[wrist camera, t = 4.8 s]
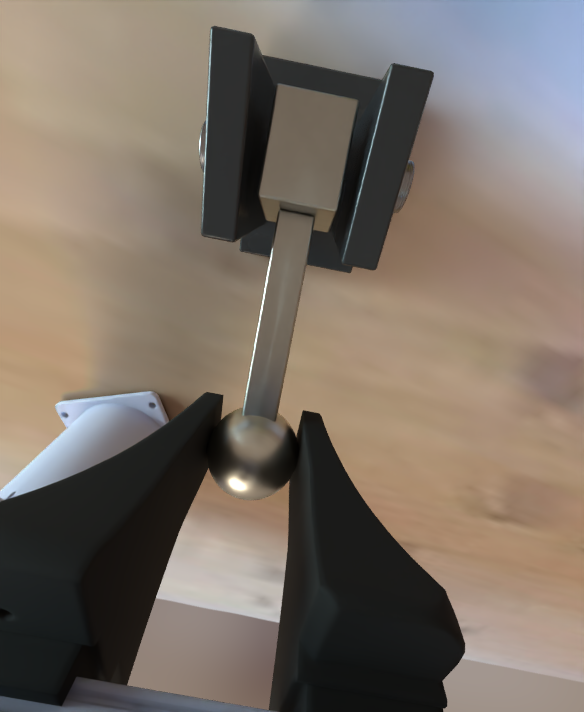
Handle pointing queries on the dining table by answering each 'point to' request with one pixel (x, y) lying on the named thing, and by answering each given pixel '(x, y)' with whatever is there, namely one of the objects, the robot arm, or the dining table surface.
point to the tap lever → (283, 281)
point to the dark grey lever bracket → (249, 135)
